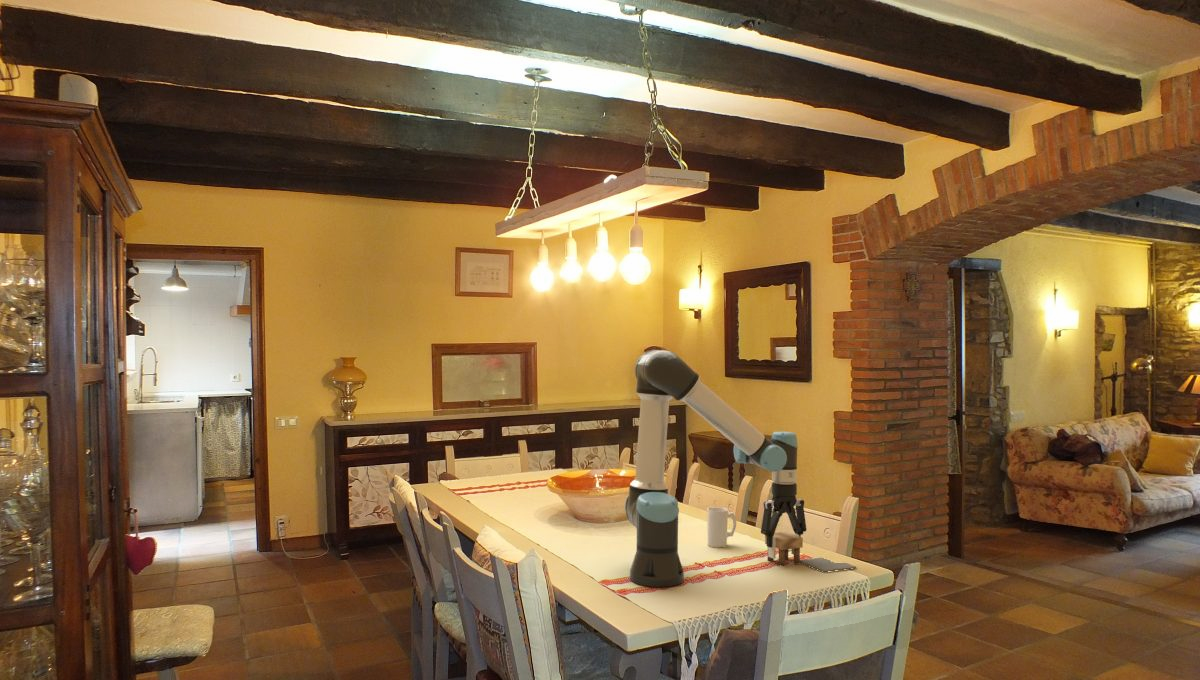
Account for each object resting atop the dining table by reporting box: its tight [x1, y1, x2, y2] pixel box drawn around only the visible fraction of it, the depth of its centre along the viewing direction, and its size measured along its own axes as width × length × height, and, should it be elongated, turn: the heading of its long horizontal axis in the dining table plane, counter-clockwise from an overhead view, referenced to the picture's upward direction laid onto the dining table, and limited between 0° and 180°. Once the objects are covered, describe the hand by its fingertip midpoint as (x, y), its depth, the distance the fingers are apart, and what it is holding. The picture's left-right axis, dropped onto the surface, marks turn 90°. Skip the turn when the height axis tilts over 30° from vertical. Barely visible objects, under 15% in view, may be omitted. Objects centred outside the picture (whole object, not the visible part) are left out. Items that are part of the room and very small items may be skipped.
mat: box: [800, 557, 857, 573], centre depth 230 cm, size 12×12×1 cm
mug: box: [706, 506, 737, 549], centre depth 253 cm, size 10×7×12 cm, turn 101°
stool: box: [764, 531, 804, 567], centre depth 234 cm, size 8×8×8 cm
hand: (783, 556), depth 234 cm, fingers closed on stool, 8 cm apart
